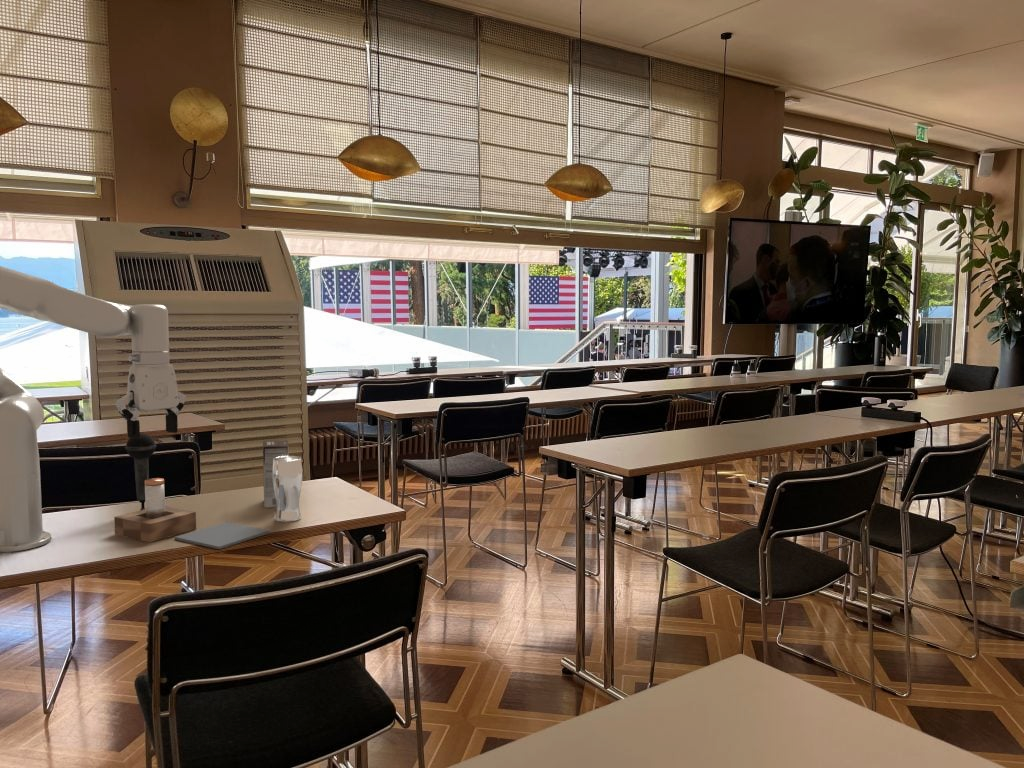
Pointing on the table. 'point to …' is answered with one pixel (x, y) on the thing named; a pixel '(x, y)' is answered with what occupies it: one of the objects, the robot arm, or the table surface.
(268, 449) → the coffee box
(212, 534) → the slate mat
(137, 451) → the microphone
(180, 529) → the eye block
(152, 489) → the steel peg
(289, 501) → the beer glass
